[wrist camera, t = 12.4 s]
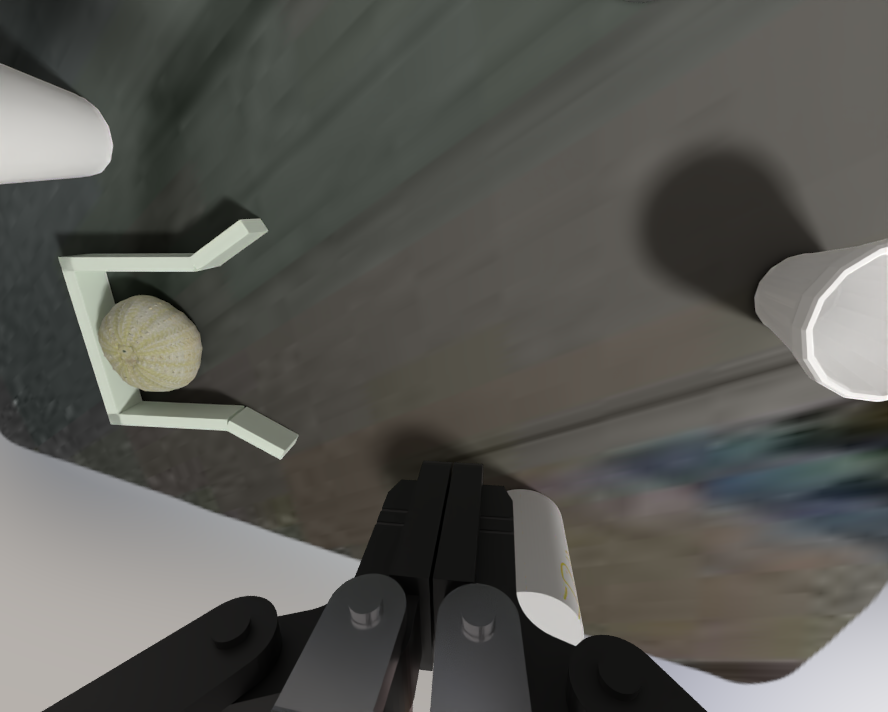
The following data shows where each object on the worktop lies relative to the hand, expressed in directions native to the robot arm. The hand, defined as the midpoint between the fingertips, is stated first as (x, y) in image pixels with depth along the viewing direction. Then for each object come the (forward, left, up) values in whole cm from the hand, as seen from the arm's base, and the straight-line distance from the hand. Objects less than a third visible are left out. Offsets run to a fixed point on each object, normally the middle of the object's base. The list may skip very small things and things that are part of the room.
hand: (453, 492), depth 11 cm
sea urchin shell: (+5, -31, -27) cm, 42 cm away
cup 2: (0, +24, -27) cm, 36 cm away
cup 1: (+24, +4, -27) cm, 36 cm away
